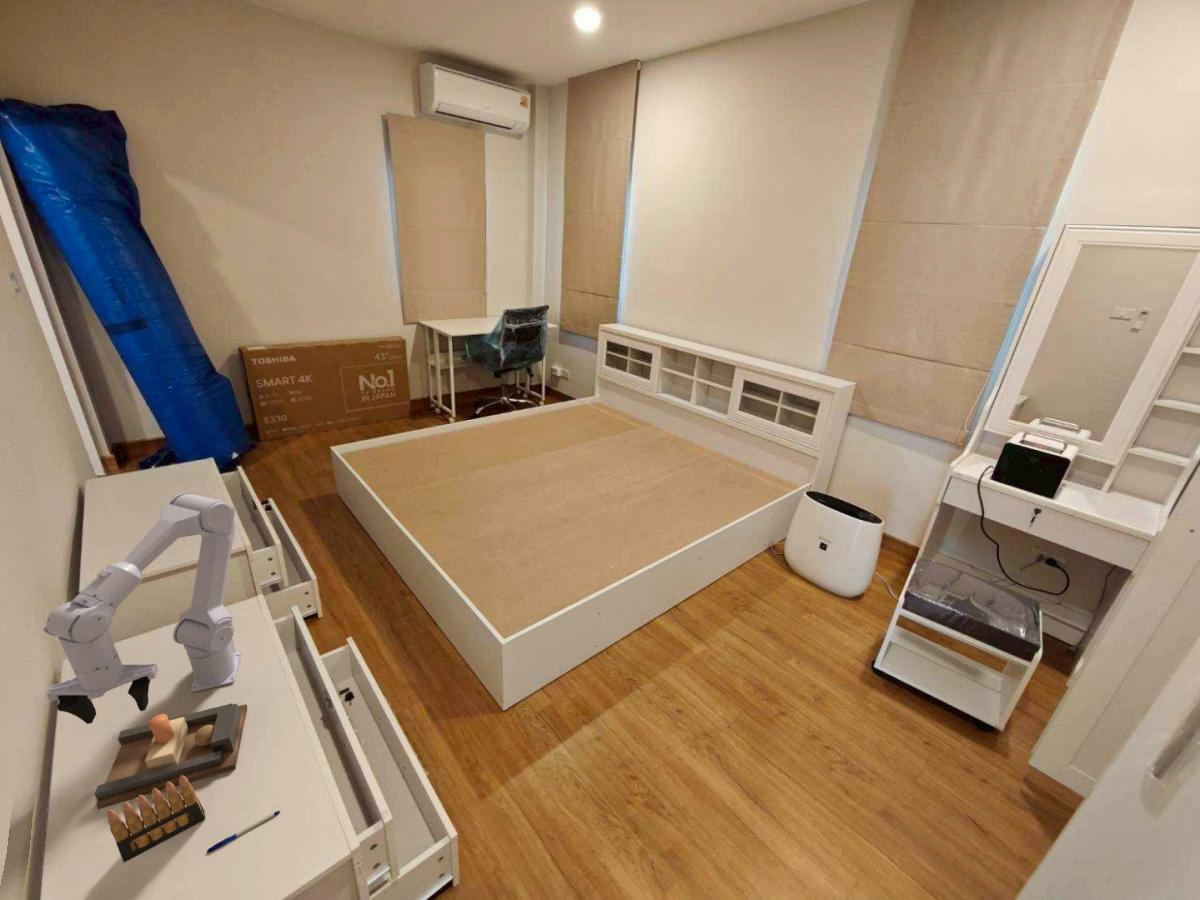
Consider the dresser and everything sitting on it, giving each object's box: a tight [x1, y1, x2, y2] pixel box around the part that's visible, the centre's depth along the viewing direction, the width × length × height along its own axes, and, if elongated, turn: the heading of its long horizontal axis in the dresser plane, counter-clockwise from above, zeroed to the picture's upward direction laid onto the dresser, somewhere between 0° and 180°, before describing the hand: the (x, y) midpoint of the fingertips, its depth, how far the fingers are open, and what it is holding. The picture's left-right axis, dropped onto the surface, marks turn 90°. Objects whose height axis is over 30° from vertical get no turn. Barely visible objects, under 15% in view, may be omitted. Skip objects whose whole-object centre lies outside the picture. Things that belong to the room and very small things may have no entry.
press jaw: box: [145, 713, 188, 771], centre depth 94 cm, size 8×4×9 cm, turn 25°
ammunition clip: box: [106, 775, 206, 863], centre depth 82 cm, size 11×2×12 cm, turn 130°
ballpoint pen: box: [206, 810, 281, 854], centre depth 86 cm, size 10×1×1 cm, turn 132°
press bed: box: [93, 702, 248, 810], centre depth 96 cm, size 14×20×5 cm
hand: (118, 712), depth 94 cm, fingers open, 7 cm apart
